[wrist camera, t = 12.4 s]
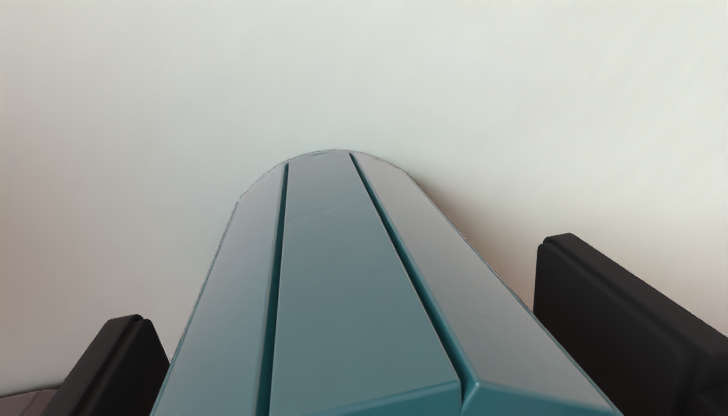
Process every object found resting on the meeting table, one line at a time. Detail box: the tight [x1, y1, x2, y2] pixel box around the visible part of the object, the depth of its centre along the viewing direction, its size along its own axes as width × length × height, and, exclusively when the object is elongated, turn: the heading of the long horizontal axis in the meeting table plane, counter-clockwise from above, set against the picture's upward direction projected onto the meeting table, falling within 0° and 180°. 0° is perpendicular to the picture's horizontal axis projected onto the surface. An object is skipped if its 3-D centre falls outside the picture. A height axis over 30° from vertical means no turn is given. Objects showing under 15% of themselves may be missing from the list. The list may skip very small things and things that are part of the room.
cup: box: [149, 150, 625, 416], centre depth 9 cm, size 7×7×9 cm
